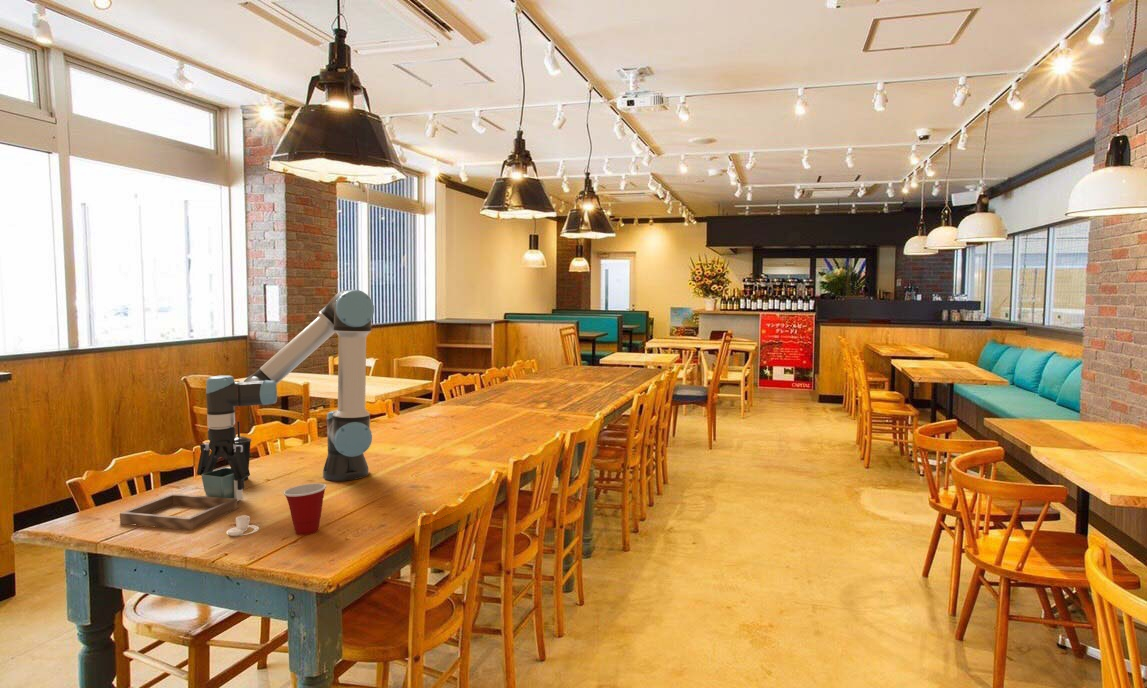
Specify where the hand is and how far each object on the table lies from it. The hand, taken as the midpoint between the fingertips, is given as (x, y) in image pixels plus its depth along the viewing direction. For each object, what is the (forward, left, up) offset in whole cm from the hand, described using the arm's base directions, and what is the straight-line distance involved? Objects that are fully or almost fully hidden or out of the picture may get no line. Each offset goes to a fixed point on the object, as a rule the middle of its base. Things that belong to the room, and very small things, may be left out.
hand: (224, 498), depth 207 cm
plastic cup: (-40, +18, -1) cm, 44 cm away
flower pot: (0, 0, -1) cm, 1 cm away
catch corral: (+2, +15, -1) cm, 15 cm away
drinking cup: (+11, -21, -1) cm, 24 cm away
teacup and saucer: (-21, +23, -1) cm, 31 cm away
